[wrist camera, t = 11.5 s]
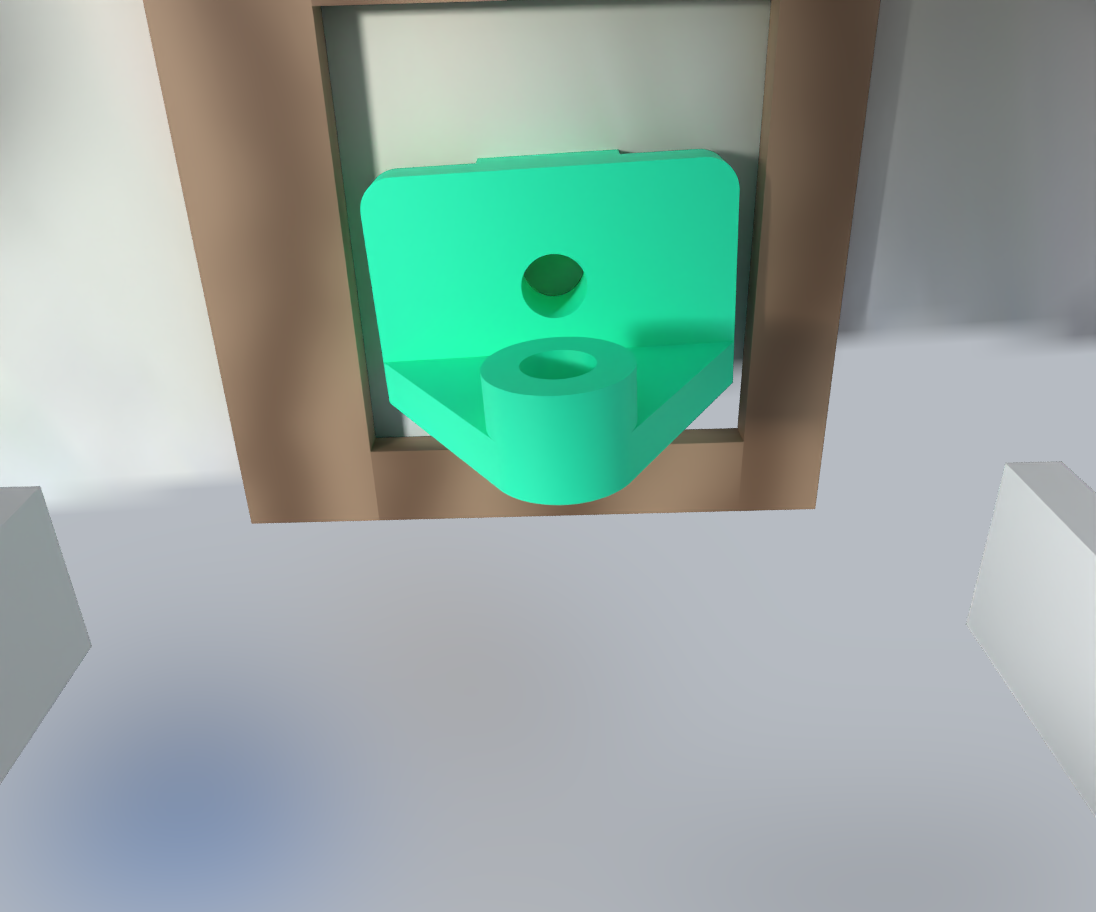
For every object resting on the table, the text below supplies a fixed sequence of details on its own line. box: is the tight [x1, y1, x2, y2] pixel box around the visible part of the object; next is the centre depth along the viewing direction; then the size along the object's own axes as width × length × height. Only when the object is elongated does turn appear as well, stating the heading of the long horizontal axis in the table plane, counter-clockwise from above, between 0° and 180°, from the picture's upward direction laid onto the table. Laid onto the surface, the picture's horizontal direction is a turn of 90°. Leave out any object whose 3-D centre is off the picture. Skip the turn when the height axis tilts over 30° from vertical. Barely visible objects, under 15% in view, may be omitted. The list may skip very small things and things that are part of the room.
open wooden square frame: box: [143, 0, 880, 523], centre depth 27 cm, size 22×21×10 cm
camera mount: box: [360, 149, 740, 505], centre depth 28 cm, size 12×8×10 cm, turn 93°
